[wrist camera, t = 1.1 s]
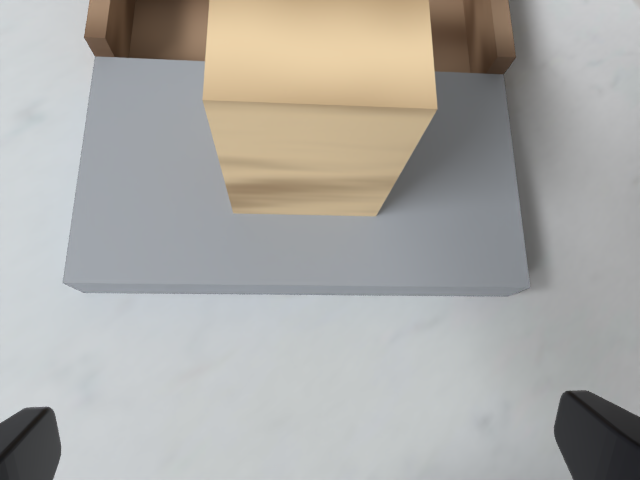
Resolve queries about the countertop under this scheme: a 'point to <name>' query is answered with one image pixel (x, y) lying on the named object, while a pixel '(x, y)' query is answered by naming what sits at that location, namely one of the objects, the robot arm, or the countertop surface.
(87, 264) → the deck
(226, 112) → the block
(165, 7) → the bin
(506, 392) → the countertop surface
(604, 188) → the countertop surface
